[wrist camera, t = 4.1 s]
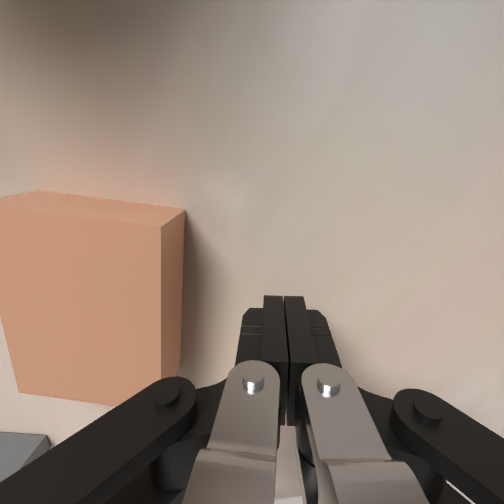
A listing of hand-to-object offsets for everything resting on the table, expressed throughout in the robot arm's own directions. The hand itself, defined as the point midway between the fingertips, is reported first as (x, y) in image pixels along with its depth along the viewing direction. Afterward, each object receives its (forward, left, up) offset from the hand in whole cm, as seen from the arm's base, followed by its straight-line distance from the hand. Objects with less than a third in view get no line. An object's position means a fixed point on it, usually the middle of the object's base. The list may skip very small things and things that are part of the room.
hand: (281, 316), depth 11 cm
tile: (+7, 0, -2) cm, 8 cm away
